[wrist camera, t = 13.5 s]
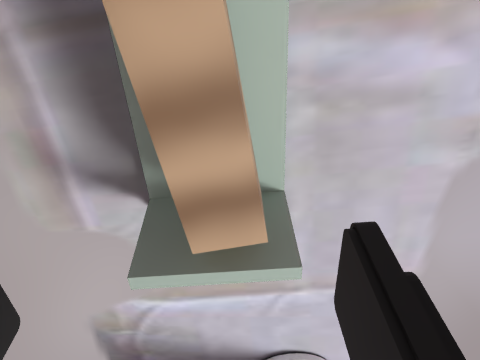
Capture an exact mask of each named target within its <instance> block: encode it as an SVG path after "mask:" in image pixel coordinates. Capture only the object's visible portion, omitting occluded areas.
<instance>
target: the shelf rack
mask: <svg viewBox="0 0 480 360" xmlns="http://www.w3.org/2000/svg"><path fill="white" fill-rule="evenodd" d="M226 3H227V9H228V14H229V20H230V25H231V31H232V36H233V42H234V47H235V52H236V58H237V63H238V69H239V74H240V80H241V85H242V91H243V96H244V102H245V107H246V113H247V118H248V123H249V129H250V134H251V140H252V145H253V151H254V156H255V162H256V167H257V173H258V178H259V183H260V189H261V196H262V203H263V210H264V217H265V224H266V231H267V237H268V242H267V243H260V244H254V245H248V246H241V247H235V248H229V249H222V250H216V251H210V252H203V253H197V254H193V253H192V251H191V248H190V245H189V242H188V239H187V237H186V234H185V231H184V228H183V225H182V223H181V220H180V217H179V214H178V212H177V209H176V206H175V203H174V200H173V198H172V195H171V192H170V189H169V186H168V184H167V181H166V178H165V175H164V172H163V170H162V167H161V164H160V161H159V158H158V156H157V153H156V150H155V147H154V144H153V142H152V139H151V136H150V133H149V131H148V128H147V125H146V122H145V119H144V117H143V114H142V111H141V108H140V105H139V103H138V100H137V97H136V94H135V91H134V89H133V86H132V83H131V80H130V77H129V75H128V72H127V69H126V66H125V63H124V61H123V58H122V55H121V52H120V50H119V47H118V44H117V41H116V38H115V36H114V33H113V30H112V27H111V24H110V22H109V19H108V16H107V19H108V23H109V28H110V32H111V36H112V40H113V45H114V49H115V53H116V57H117V62H118V66H119V70H120V74H121V79H122V83H123V87H124V91H125V96H126V100H127V104H128V108H129V113H130V117H131V121H132V125H133V130H134V134H135V138H136V142H137V147H138V151H139V155H140V159H141V164H142V168H143V172H144V177H145V181H146V185H147V189H148V194H149V198H150V200H149V203H148V207H147V211H146V214H145V218H144V221H143V225H142V228H141V232H140V235H139V239H138V242H137V246H136V249H135V253H134V257H133V260H132V263H131V267H130V270H129V274H128V277H127V279H128V281H129V285H130V288H131V289H149V288H165V287H181V286H198V285H214V284H230V283H246V282H263V281H279V280H295V279H302V264H301V260H300V256H299V251H298V247H297V243H296V239H295V234H294V230H293V226H292V222H291V217H290V213H289V209H288V205H287V201H286V196H285V192H284V178H285V138H286V97H287V57H288V16H289V0H226ZM105 11H106V10H105ZM106 15H107V13H106Z"/></svg>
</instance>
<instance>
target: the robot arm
mask: <svg viewBox="0 0 480 360" xmlns="http://www.w3.org/2000/svg"><path fill="white" fill-rule="evenodd" d="M334 304H335V310H336V314H337V317H338V320H339V324H340V327H341V330H342V334H343V337H344V340H345V344H346V347H347V350H348V354H349V357H350V360H466V359H465V357H464V355H463V354H462V352H461V350H460V349H459V347H458V345H457V343H456V342H455V340H454V338H453V337H452V335H451V333H450V331H449V330H448V328H447V326H446V324H445V323H444V321H443V319H442V318H441V316H440V314H439V312H438V311H437V309H436V307H435V306H434V304H433V302H432V300H431V299H430V297H429V295H428V293H427V292H426V290H425V288H424V286H423V285H422V283H421V281H420V280H419V278H418V277H417V276H416V275H415V274H414V273H413V272H404V271H403V270H402V268H401V266H400V264H399V262H398V260H397V259H396V257H395V255H394V253H393V251H392V249H391V248H390V246H389V244H388V242H387V240H386V239H385V237H384V235H383V233H382V231H381V229H380V228H379V226H378V224H377V223H376V222H360V223H352V224H351V227H350V229H345V230H344V233H343V239H342V246H341V253H340V260H339V267H338V275H337V282H336V289H335V296H334ZM19 326H20V317H19V315H18V313H17V312H16V310H15V308H14V307H13V305H12V304H11V302H10V300H9V298H8V297H7V295H6V293H5V292H4V290H3V288H2V287H1V285H0V360H2V359H3V357H4V355H5V354H6V352H7V350H8V348H9V346H10V344H11V343H12V341H13V339H14V337H15V335H16V333H17V332H18V329H19ZM266 360H325V359H323V358H321V357H318V356H315V355H311V354H304V353H290V354H283V355H278V356H274V357H271V358H269V359H266Z"/></svg>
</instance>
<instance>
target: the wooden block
mask: <svg viewBox="0 0 480 360" xmlns="http://www.w3.org/2000/svg"><path fill="white" fill-rule="evenodd" d="M102 2H103V5H104V8H105V10H106V13H107V16H108V19H109V22H110V24H111V27H112V30H113V33H114V36H115V38H116V41H117V44H118V47H119V50H120V52H121V55H122V58H123V61H124V63H125V66H126V69H127V72H128V75H129V77H130V80H131V83H132V86H133V89H134V91H135V94H136V97H137V100H138V103H139V105H140V108H141V111H142V114H143V117H144V119H145V122H146V125H147V128H148V131H149V133H150V136H151V139H152V142H153V144H154V147H155V150H156V153H157V156H158V158H159V161H160V164H161V167H162V170H163V172H164V175H165V178H166V181H167V184H168V186H169V189H170V192H171V195H172V198H173V200H174V203H175V206H176V209H177V212H178V214H179V217H180V220H181V223H182V225H183V228H184V231H185V234H186V237H187V239H188V242H189V245H190V248H191V251H192V253H193V254H197V253H203V252H210V251H216V250H222V249H229V248H235V247H241V246H248V245H254V244H260V243H267V242H268V237H267V231H266V224H265V217H264V210H263V203H262V196H261V189H260V183H259V178H258V173H257V167H256V162H255V156H254V151H253V145H252V140H251V134H250V129H249V123H248V118H247V113H246V107H245V102H244V96H243V91H242V85H241V80H240V74H239V69H238V63H237V58H236V52H235V47H234V42H233V36H232V31H231V25H230V20H229V14H228V9H227V3H226V0H102Z"/></svg>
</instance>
